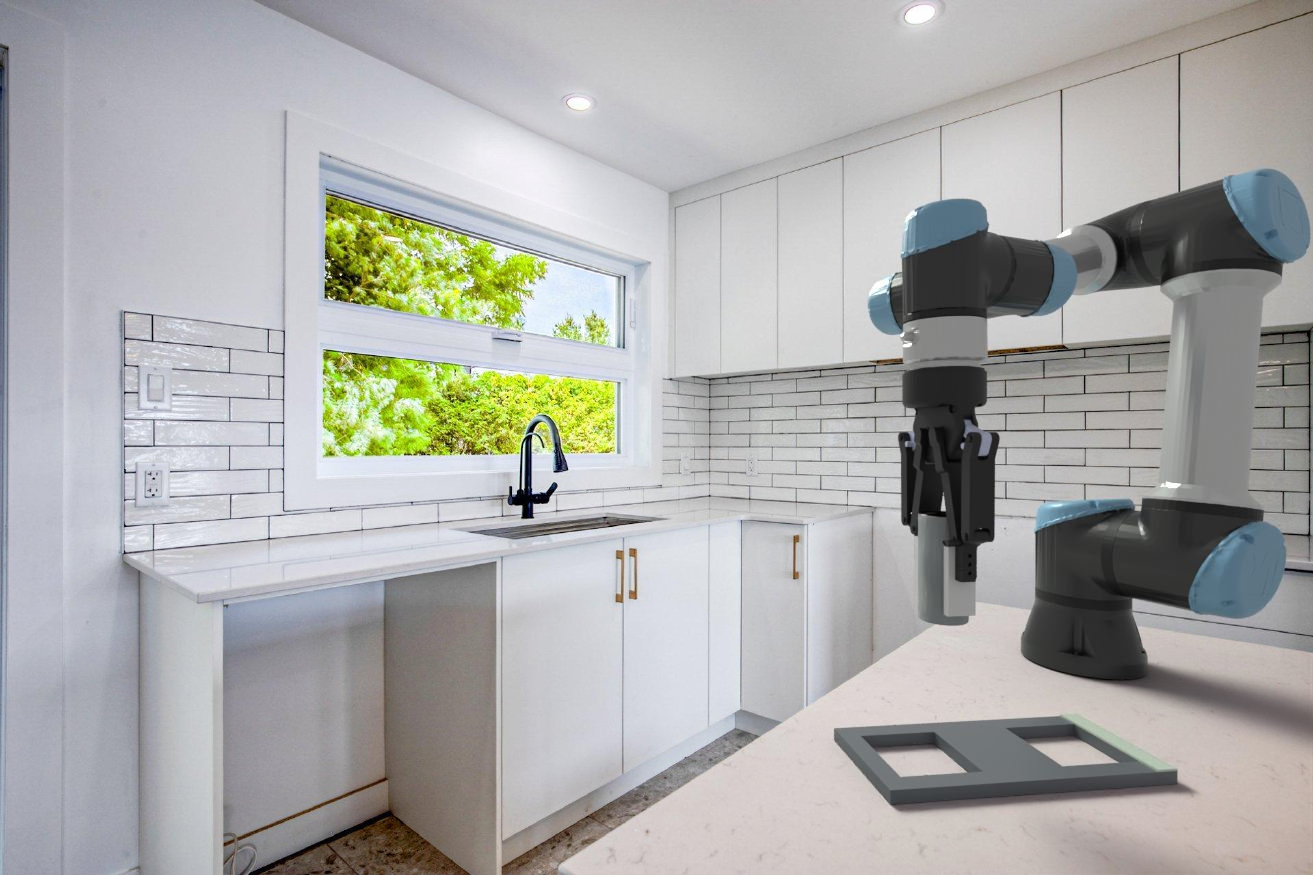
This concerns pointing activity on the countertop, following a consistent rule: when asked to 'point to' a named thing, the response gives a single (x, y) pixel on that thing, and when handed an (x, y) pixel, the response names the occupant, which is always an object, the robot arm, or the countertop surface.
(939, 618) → the grey hollow cylinder
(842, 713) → the countertop surface
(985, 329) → the robot arm
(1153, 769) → the panel
